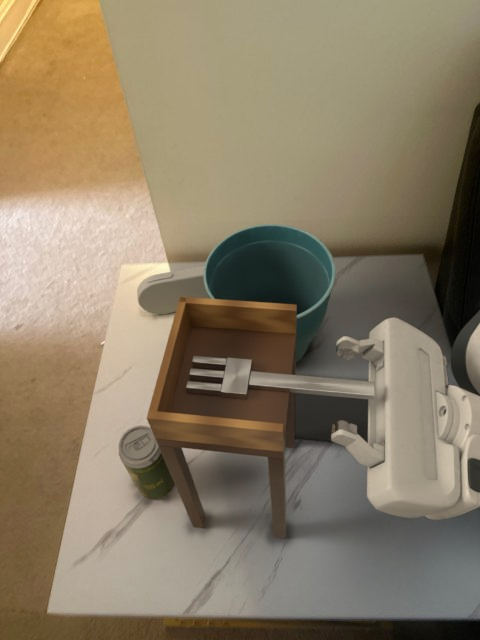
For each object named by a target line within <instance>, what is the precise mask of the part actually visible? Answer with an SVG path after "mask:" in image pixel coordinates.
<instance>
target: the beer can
mask: <svg viewBox="0 0 480 640" xmlns="http://www.w3.org/2000/svg"><path fill="white" fill-rule="evenodd" d="M118 456H119V459H120V461H121V463H122V464H123V466H124V468H125V470H126V472H127V474H128V475H129V476H130V478H131V480H132V482H133V483H134V485H135V487H136V489H137V490H138V492H139V493H140V494H141V496H142V497H144V498H146V499H148V500H160V499H163V498H164V497H167V496H168V495H169V494H170V493H171V492H172V491H173V489H174V487H175V483H174V481H173V479H172V476H171V474H170V472H169V469H168V467H167V465H166V462H165V460H164V458H163V455H162V453H161V451H160V448H159V446H158V444H157V441H156V439H155V437H154V434H153V432H152V430H151V427H150V426H147V425H142V424H141V425H136V426H133V427H130V428H129V429H127V430H126V431H125V432H124V433H123V434H122V435H121V437H120V438H119V442H118Z"/></svg>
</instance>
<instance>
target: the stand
mask: <svg viewBox="0 0 480 640" xmlns="http://www.w3.org/2000/svg"><path fill="white" fill-rule="evenodd" d="M296 331H297V305H294V304H280V303H265V302H251V301H236V300H222V299H207V298H192V297H180V298H179V301H178V305H177V309H176V311H174V316H173V321H172V324H171V328H170V331H169V334H168V338H167V341H166V346H165V349H164V353H163V356H162V360H161V364H160V368H159V372H158V374H157V377H156V382H155V386H154V389H153V394H152V397H151V401H150V403H149V404H150V405H149V407H148V412H147V415H146V420H147V422H148V423H147V424H148V425H149V427H150V428H151V430H152V432H153V434H154V437H155V439H156V441H157V444H158V446H159V448H160V451H161V453H162V455H163V458H164V460H165V462H166V465H167V467H168V469H169V472H170V474H171V476H172V479H173V481H174V483H175V485H174V487H175V488H176V490H177V493H178V495H179V498H180V500H181V502H182V504H183V507H184V509H185V511H186V514H187V516H188V518H189V520H190V523H191V525H192V527H193V528H197V529H205V527H206V521H207V515H206V513H205V509H204V506H203V503H202V501H201V498H200V495H199V493H198V490H197V487H196V485H195V481H194V479H193V476H192V473H191V470H190V467H189V465H188V462H187V459H186V456H185V453H184V451H183V449H189V450H199V451H208V452H215V453H225V454H236V455H244V456H245V455H246V456H254V457H263V458H267V469H268V480H269V481H268V483H269V494H270V507H271V520H272V533H273V538H275V539H282V540H286V536H287V484H286V483H287V482H286V481H287V480H286V479H287V477H286V448H295V442H296V438H295V400H296V393H293V392H282V391H271V390H260V389H250V388H249V390H248V397H247V399H238V398H228V397H222V396H217V395H207V394H196V393H187V390H186V384H187V381H192V382H203V383H214V384H222V383H223V382H212V381H200V380H191V379H190V377H189V371H190V368H194V369H205V370H217V371H224V372H225V370H222V369H210V368H199V367H193V365H192V359H193V356H203V357H215V358H226V359H227V358H239V359H251V360H252V371H256V372H268V373H279V374H291V375H297V362H296Z"/></svg>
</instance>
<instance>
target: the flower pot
mask: <svg viewBox="0 0 480 640" xmlns="http://www.w3.org/2000/svg"><path fill="white" fill-rule="evenodd" d="M203 266H204V273H203V278H204V284H205V288H206V291H207V293H208V295H209V297H210V299H222V300H236V301H251V302H265V303H280V304H294V305H297V331H296V363H298V362H299V361H300V360H301V359H302V358H303V357H304V355H305V354H306V353H307V351H308V348H309V345H310V343H311V341H313V339H314V338H315V337H316V335H317V334H318V332H319V330H320V329H321V327H322V325H323V322H324V319H325V316H326V313H327V310H328V306H329V301H330V298H331V295H332V292H333V290H334V286H335V283H336V276H337V270H336V269H337V268H336V262H335V260H334V257H333V255H332V253H331V251H330V249H329V248H328V247H327V245H325V243H324V242H322V240H320V238H318V237H317V236H315V235H314V234H312V233H310V232H308V231H306V230H304V229H301V228H299V227H296V226H292V225H287V224H279V223H264V224H256V225H251V226H248V227H245V228H242V229H239V230H236V231H234V232H232V233H231V234H229V235H227V236H226V237H225V238H223V239H222V240H221V241H219V242H218V243H217V244H216V245H215V246H214V247H213V249H212V250H211V251H210V253H209V255H208V256H207V258H206V260H205V262H204V265H203Z"/></svg>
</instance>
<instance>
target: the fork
mask: <svg viewBox="0 0 480 640" xmlns="http://www.w3.org/2000/svg"><path fill="white" fill-rule="evenodd" d="M192 365H193V367H199V368H210V369H222V370H225V372H224V371H217V370H205V369H194V368H190V371H189V377H190V379H191V380H200V381H212V382H223V383H222V384H214V383H203V382H192V381H187V384H186V390H187V393H196V394H207V395H217V396H222V397H228V398H238V399H247V397H248V390H249V388H250V389H260V390H271V391H282V392H293V393H304V394H315V395H326V396H337V397H348V398H358V399H369V400H374V398H375V382H372V381H368V380H360V379H359V380H357V379H348V378H347V379H346V378H334V377H326V376H325V377H324V376H313V375H300V374H296V375H291V374H279V373H268V372H256V371H252V360H251V359H239V358H227V359H226V358H215V357H203V356H193V359H192Z"/></svg>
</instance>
